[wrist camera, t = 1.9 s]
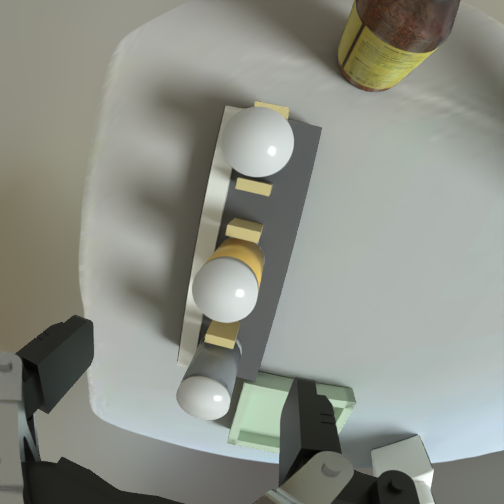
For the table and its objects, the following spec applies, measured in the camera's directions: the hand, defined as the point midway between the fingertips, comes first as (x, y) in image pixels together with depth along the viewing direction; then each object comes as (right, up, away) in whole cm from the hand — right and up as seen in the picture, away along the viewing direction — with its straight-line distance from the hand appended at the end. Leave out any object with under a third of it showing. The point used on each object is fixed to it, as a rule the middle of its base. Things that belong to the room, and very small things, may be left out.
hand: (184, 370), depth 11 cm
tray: (+7, -14, +22) cm, 27 cm away
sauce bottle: (+13, +22, +13) cm, 28 cm away
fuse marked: (+2, +4, +16) cm, 16 cm away
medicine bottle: (+23, -24, +24) cm, 41 cm away
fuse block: (+2, +4, +18) cm, 19 cm away
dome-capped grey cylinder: (+4, +12, +13) cm, 19 cm away
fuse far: (0, -5, +18) cm, 19 cm away
